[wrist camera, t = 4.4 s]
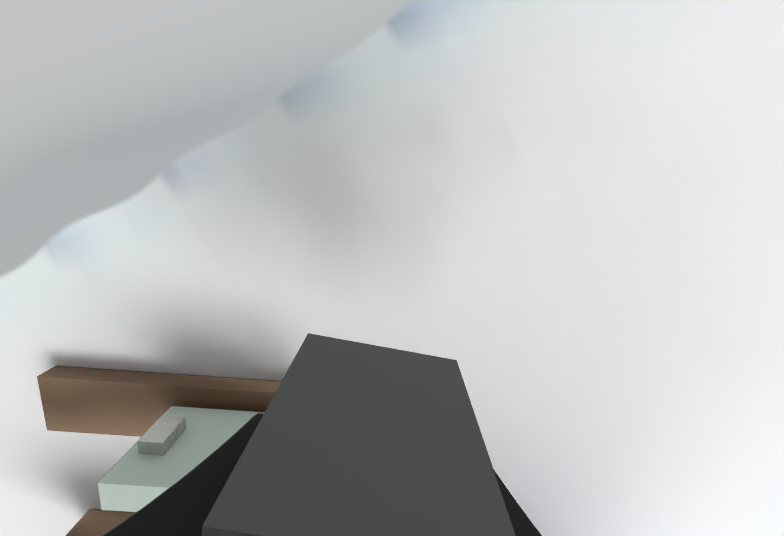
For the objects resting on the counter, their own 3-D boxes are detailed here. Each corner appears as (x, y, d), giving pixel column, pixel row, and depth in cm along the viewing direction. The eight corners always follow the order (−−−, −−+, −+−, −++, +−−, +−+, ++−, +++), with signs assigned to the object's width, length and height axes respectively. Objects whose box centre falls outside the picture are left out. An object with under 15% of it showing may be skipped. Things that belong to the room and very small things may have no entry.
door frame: (404, 543, 21) (408, 667, 16) (82, 522, 21) (-24, 642, 16) (420, 391, 19) (431, 477, 13) (56, 365, 18) (-82, 443, 13)
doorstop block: (424, 481, 12) (454, 779, 6) (289, 458, 12) (183, 743, 6) (456, 360, 11) (529, 577, 5) (308, 333, 11) (201, 526, 5)
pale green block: (296, 436, 18) (265, 520, 13) (173, 427, 18) (101, 509, 13) (297, 403, 17) (264, 480, 13) (170, 395, 17) (95, 469, 13)
